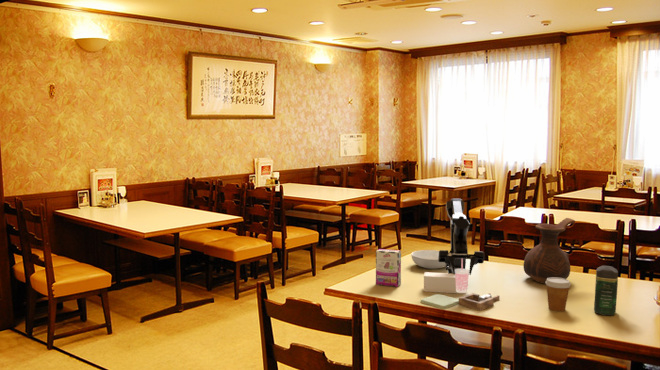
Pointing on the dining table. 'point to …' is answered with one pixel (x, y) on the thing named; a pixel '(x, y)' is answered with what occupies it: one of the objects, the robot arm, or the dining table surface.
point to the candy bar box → (388, 267)
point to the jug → (548, 254)
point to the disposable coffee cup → (557, 293)
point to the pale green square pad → (440, 301)
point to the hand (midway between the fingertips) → (462, 274)
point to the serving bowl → (427, 259)
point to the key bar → (483, 297)
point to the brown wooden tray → (473, 303)
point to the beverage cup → (461, 279)
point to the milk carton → (439, 282)
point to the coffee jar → (606, 290)
